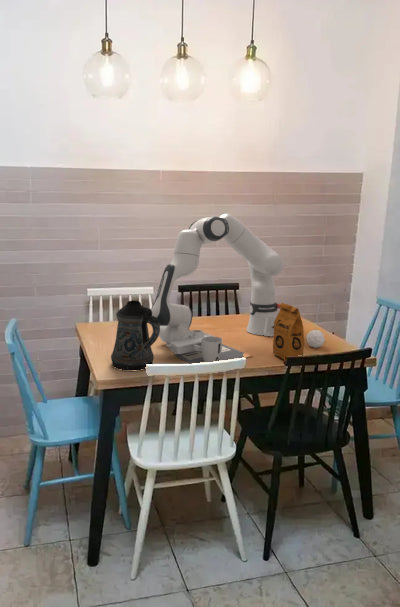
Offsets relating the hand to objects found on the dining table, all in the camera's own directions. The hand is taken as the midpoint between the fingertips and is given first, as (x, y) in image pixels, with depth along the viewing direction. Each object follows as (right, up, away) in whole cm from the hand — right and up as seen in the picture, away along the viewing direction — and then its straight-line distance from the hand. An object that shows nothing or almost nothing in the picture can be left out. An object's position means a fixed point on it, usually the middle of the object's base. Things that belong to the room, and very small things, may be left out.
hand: (205, 349), depth 214 cm
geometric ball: (+48, -1, +22) cm, 53 cm away
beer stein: (-27, -6, -3) cm, 28 cm away
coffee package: (+34, -4, +7) cm, 35 cm away
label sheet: (+3, -3, +8) cm, 9 cm away
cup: (+2, -6, -2) cm, 6 cm away
